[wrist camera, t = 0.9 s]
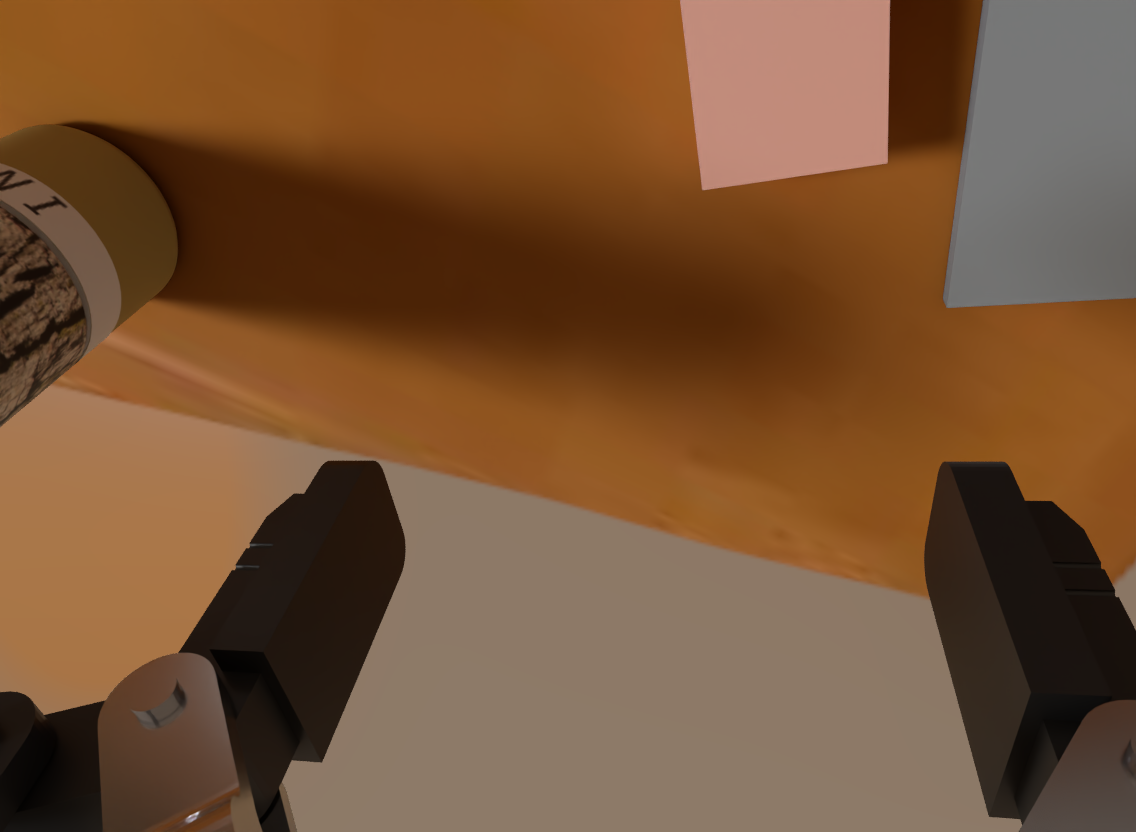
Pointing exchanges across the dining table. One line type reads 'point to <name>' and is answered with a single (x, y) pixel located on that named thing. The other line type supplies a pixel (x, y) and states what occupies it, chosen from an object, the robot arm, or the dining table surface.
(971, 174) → the mat
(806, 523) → the dining table surface
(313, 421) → the dining table surface
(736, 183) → the pink block
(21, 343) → the bark print canister
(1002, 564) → the robot arm
